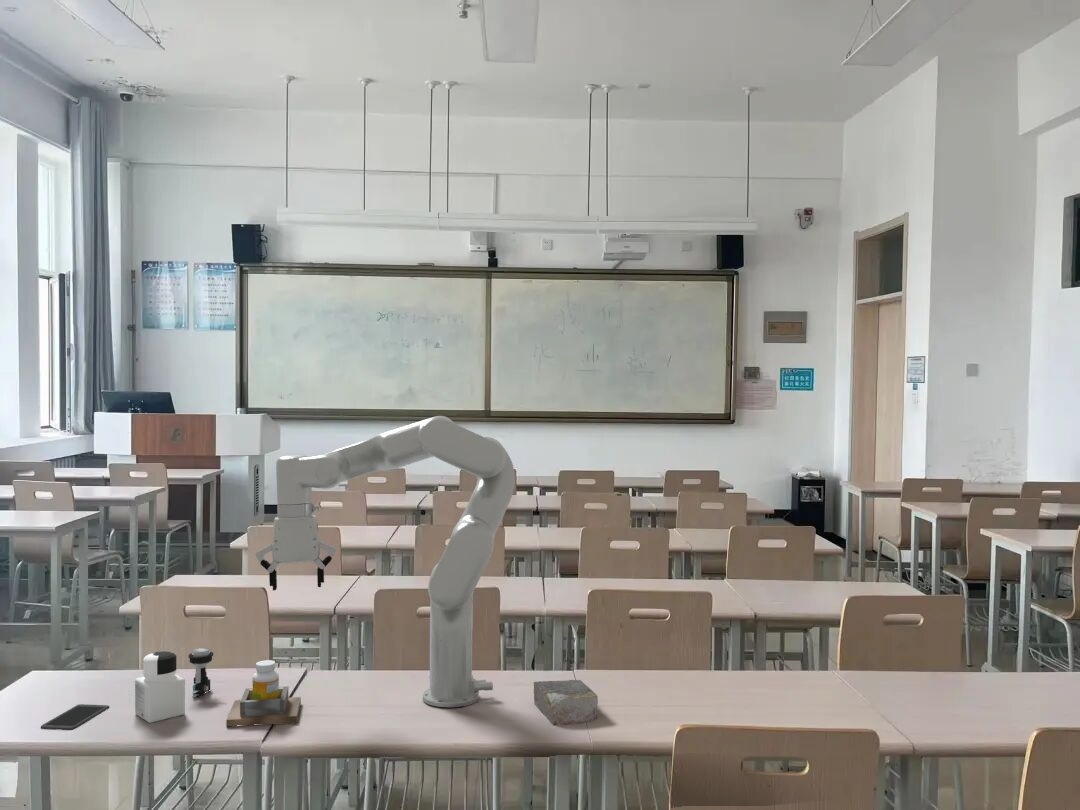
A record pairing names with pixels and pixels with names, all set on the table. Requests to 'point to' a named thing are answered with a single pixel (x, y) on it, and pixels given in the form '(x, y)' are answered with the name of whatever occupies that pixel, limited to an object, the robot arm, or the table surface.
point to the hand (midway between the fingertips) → (297, 587)
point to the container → (159, 688)
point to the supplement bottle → (265, 681)
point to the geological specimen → (565, 701)
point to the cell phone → (75, 717)
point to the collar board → (264, 709)
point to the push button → (200, 670)
